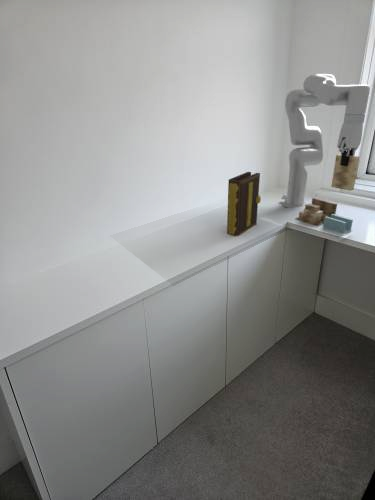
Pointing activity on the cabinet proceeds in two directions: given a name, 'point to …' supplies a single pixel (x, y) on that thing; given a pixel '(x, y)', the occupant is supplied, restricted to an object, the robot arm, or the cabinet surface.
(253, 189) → the book
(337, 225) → the stand
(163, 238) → the cabinet surface
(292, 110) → the robot arm
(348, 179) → the light brown flat block
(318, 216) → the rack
